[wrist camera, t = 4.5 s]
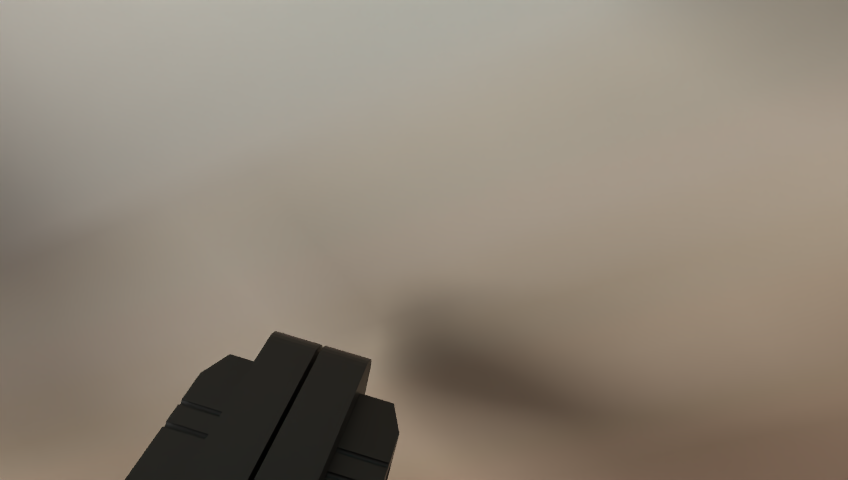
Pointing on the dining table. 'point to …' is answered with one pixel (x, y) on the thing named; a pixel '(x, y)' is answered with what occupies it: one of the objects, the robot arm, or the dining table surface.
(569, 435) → the dining table surface
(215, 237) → the dining table surface
